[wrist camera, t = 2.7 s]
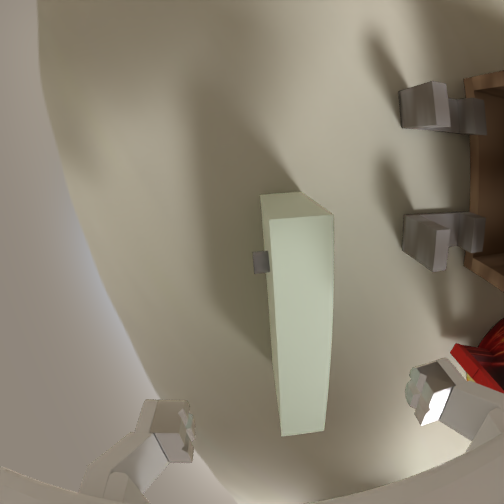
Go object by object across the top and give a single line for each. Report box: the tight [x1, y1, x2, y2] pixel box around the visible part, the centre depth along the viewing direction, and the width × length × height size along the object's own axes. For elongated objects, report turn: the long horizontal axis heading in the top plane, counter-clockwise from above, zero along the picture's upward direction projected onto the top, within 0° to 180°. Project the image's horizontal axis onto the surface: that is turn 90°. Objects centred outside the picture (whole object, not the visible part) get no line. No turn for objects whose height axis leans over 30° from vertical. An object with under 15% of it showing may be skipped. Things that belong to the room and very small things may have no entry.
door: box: [253, 192, 334, 436], centre depth 16 cm, size 12×3×7 cm, turn 5°
